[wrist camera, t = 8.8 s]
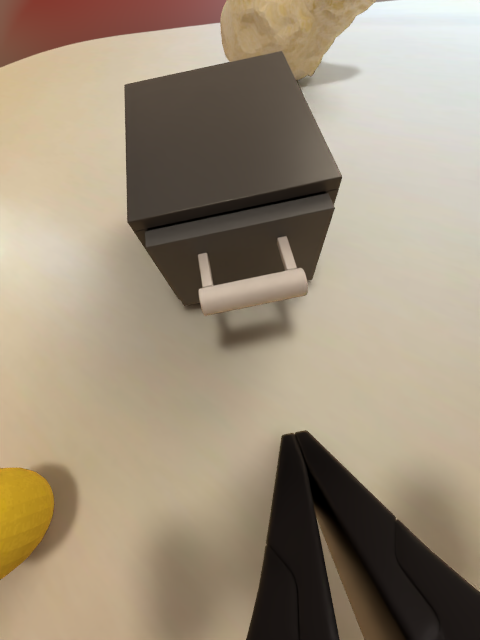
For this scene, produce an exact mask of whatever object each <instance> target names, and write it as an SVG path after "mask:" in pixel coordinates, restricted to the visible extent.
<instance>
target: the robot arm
mask: <svg viewBox="0 0 480 640" xmlns="http://www.w3.org/2000/svg"><path fill="white" fill-rule="evenodd" d="M316 518H317V519H316ZM317 520H318V523H319V525H320V528H321V530H322V533H323V535H324V538H325V541H326V543H327V546H328V548H329V551H330V553H331V556H332V558H333V561H334V563H335V566H336V568H337V571H338V574H339V576H340V579H341V581H342V584H343V586H344V589H345V591H346V594H347V596H348V599H349V601H350V604H351V606H352V609H353V612H354V614H355V617H356V619H357V622H358V624H359V627H360V629H361V632H362V634H363V637H364V639H365V640H480V592H479V591H478V590H477V589H475V588H474V587H473V586H472V585H471V584H469V583H468V582H467V581H466V580H465V579H463V578H462V577H461V576H460V575H459V574H457V573H456V572H455V571H454V570H453V569H452V568H450V567H449V566H448V565H447V564H446V563H445V562H443V561H442V560H441V559H440V558H439V557H438V556H437V555H435V554H434V553H433V552H432V551H431V550H430V549H429V548H428V547H427V546H426V545H424V544H423V543H422V542H421V541H420V540H419V539H418V538H417V537H416V536H415V535H414V534H413V533H412V532H411V531H410V530H409V529H408V528H407V527H406V526H404V525H403V524H402V523H401V522H400V521H399V520H398V519H397V520H396V517H395V516H394V515H393V514H392V513H391V512H390V511H389V510H388V509H387V508H386V507H385V506H384V505H383V504H382V503H381V502H380V501H379V500H378V499H377V498H376V497H375V496H374V495H373V494H372V493H370V492H369V491H368V490H367V489H366V488H365V487H364V486H363V485H362V484H361V483H360V482H359V481H358V480H357V479H356V478H355V477H354V476H353V475H352V474H351V473H350V472H349V471H348V470H347V469H346V468H345V467H344V466H343V465H342V464H341V463H340V462H339V461H338V460H337V459H336V458H335V457H334V456H333V455H332V454H331V453H329V452H328V451H327V450H326V449H325V448H324V447H323V446H322V445H321V444H320V443H319V442H318V441H317V440H316V439H315V438H314V437H313V436H312V435H311V434H310V433H309V432H308V431H306V430H305V431H300V432H296V433H295V434H294V433H290V434H285V435H282V438H281V444H280V451H279V458H278V465H277V472H276V479H275V486H274V493H273V500H272V507H271V513H270V520H269V527H268V534H267V541H266V544H267V545H266V547H265V553H264V560H263V566H262V572H261V578H260V583H259V589H258V593H257V598H256V602H255V606H254V611H253V615H252V619H251V623H250V627H249V631H248V635H247V639H246V640H339V635H338V629H337V624H336V619H335V613H334V608H333V603H332V598H331V592H330V587H329V582H328V577H327V571H326V566H325V561H324V555H323V550H322V545H321V540H320V534H319V529H318V524H317Z"/></svg>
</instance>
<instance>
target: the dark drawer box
mask: <svg viewBox="0 0 480 640" xmlns="http://www.w3.org/2000/svg"><path fill="white" fill-rule="evenodd" d="M125 130H126V175H127V220H128V223H129V225H130V226H131V228H132V229H133V231H134V233H135V234H136V236H137V237H138V239H139V240H140V242H141V243H142V245H143V246H144V248H145V249H146V244H145V231H149V230H154V229H159V228H163V226H162V225H166V224H171V223H176V222H181V221H185V220H190V219H195V218H200V217H204V216H209V215H214V214H219V213H223V212H228V211H233V210H238V209H243V208H247V207H252V206H257V205H262V204H266V203H271V202H276V201H281V200H285V199H290V198H295V197H300V196H305V195H307V197H312V196H316V195H321V194H326V193H328V194H329V196H330V198H331V200H332V203H333V205H334V203H335V199H336V196H337V193H338V190H339V189H338V188H339V186H340V183H341V179H342V175H341V173H340V171H339V169H338V167H337V165H336V163H335V161H334V158H333V156H332V154H331V152H330V150H329V148H328V146H327V144H326V142H325V140H324V138H323V135H322V133H321V131H320V129H319V127H318V125H317V123H316V121H315V119H314V117H313V115H312V112H311V110H310V108H309V106H308V104H307V102H306V100H305V98H304V96H303V94H302V92H301V89H300V87H299V85H298V83H297V81H296V79H295V77H294V75H293V73H292V71H291V69H290V66H289V64H288V62H287V60H286V58H285V56H284V54H283V52H282V51H279V52H274V53H270V54H265V55H260V56H256V57H251V58H246V59H242V60H237V61H232V62H228V63H223V64H218V65H214V66H209V67H205V68H200V69H195V70H191V71H186V72H181V73H177V74H172V75H167V76H163V77H158V78H153V79H149V80H144V81H140V82H135V83H130V84H126V85H125ZM307 197H306V198H307ZM146 251H147V252H148V250H147V249H146ZM148 254H149V255H150V253H149V252H148ZM150 257H151V258H152V256H151V255H150ZM152 260H153V261H154V259H153V258H152ZM154 263H155V264H156V262H155V261H154ZM156 266H157V267H158V265H157V264H156ZM158 269H159V270H160V268H159V267H158ZM160 272H161V273H162V271H161V270H160ZM162 275H163V276H164V274H163V273H162ZM164 278H165V279H166V277H165V276H164ZM166 281H167V282H168V280H167V279H166ZM168 284H169V282H168ZM169 285H170V284H169ZM170 287H171V285H170ZM171 288H172V287H171ZM172 290H173V288H172ZM173 291H174V290H173ZM174 293H175V291H174ZM175 294H176V293H175ZM176 295H177V294H176ZM177 297H178V296H177ZM178 299H179V297H178Z"/></svg>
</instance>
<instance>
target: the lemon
mask: <svg viewBox="0 0 480 640" xmlns="http://www.w3.org/2000/svg"><path fill="white" fill-rule="evenodd" d="M53 509H54V496H53V493H52V490H51V486H50V485H49V484H48V482H47V481H46V479H45V478H43V477H42V476H41V475H39V474H38V473H36V472H34V471H30V470H27V469H23V468H0V579H2V578H3V577H5V576H6V575H8V574H9V573H10V572H11V571H12V570H14V569H15V568H16V567H17V566H18V565H20V564H21V563H22V562H23V561H24V560H25V559H26V558H27V557H29V555H30V554H31V553H32V552H33V550H34V549H35V548H36V547H37V545H38V544H39V543H40V542H41V540H42V538H43V537H44V535H45V533H46V531H47V529H48V527H49V525H50V522H51V519H52V516H53Z"/></svg>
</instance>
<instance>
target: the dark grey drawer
mask: <svg viewBox="0 0 480 640" xmlns="http://www.w3.org/2000/svg"><path fill="white" fill-rule="evenodd" d="M306 197H307V195H305V196H300V197H295V198H290V199H285V200H281V201H276V202H271V203H266V204H262V205H257V206H252V207H247V208H243V209H238V210H233V211H228V212H223V213H219V214H214V215H209V216H204V217H200V218H195V219H190V220H185V221H181V222H176V223H171V224H166V225H162V226H163V228H159V229H154V230H149V231H145V244H146V249H147V250H148V252H149V253H150V255H151V256H152V258H153V259H154V261H155V262H156V264H157V265H158V267H159V268H160V270H161V271H162V273H163V274H164V276H165V277H166V279H167V280H168V282H169V284H170V285H171V287H172V288H173V290H174V291H175V293H176V294H177V296H178V297H179V299H180V300H181V302H182V303H183V305H184V306H187V305H192V304H197V303H200V305H201V308H202V311H203V314H204V315H205V316H207V315H212V314H217V313H222V312H226V311H231V310H236V309H241V308H246V307H251V306H256V305H260V304H265V303H270V302H275V301H280V300H285V299H290V298H294V297H299V296H304V295H306V294H307V291H308V285H307V281H308V280H312V278H313V275H314V272H315V269H316V265H317V262H318V259H319V256H320V253H321V250H322V246H323V243H324V240H325V237H326V234H327V231H328V228H329V224H330V221H331V218H332V215H333V212H334V209H335V207H334V205H333V203H332V200H331V198H330V196H329V194H328V193H326V194H321V195H316V196H312V197H307V198H306Z"/></svg>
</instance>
